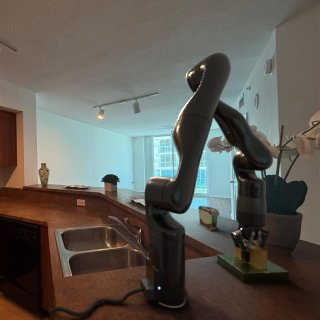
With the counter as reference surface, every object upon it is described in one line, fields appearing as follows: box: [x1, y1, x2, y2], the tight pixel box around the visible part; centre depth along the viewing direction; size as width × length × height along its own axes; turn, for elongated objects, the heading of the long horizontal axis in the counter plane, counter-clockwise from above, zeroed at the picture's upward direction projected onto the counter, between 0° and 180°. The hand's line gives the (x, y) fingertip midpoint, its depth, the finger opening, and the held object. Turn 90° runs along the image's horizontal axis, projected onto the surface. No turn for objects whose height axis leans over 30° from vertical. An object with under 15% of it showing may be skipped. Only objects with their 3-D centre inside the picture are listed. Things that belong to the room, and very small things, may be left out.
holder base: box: [216, 253, 290, 284], centre depth 64 cm, size 14×12×3 cm
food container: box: [198, 205, 220, 232], centre depth 103 cm, size 12×6×10 cm, turn 179°
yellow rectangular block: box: [234, 243, 268, 270], centre depth 64 cm, size 8×3×6 cm, turn 12°
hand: (249, 260), depth 64 cm, fingers closed on yellow rectangular block, 3 cm apart
